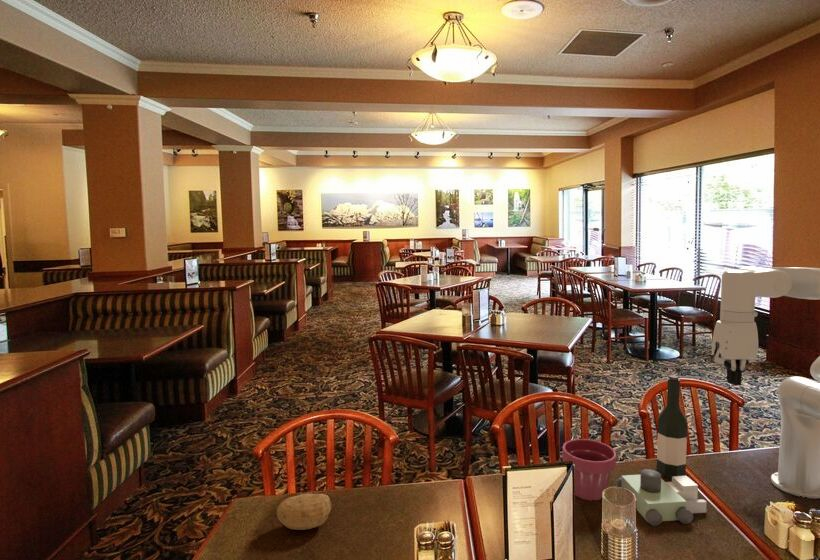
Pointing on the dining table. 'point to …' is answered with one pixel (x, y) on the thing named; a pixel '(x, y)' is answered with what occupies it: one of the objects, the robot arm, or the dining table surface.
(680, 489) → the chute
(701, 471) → the dining table surface
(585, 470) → the plant pot
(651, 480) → the toy car
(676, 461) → the wine bottle
